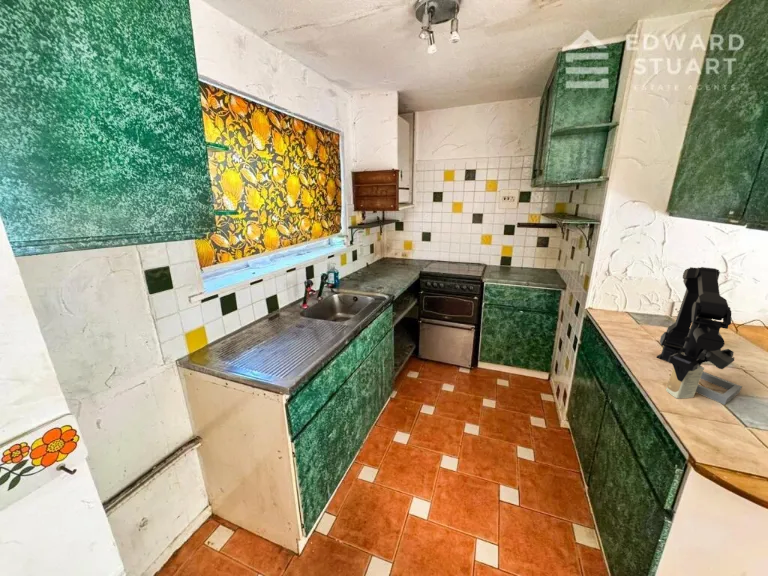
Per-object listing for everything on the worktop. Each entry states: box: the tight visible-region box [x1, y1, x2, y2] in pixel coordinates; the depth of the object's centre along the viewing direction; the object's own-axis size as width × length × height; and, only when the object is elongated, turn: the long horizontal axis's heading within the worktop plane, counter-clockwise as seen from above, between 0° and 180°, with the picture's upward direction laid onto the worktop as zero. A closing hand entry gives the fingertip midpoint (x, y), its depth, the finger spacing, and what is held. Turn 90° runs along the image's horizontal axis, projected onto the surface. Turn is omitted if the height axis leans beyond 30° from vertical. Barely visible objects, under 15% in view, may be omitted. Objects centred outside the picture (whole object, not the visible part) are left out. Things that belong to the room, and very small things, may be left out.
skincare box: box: [665, 365, 705, 399], centre depth 104 cm, size 6×4×12 cm
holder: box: [695, 370, 743, 405], centre depth 109 cm, size 13×13×2 cm
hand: (685, 377), depth 104 cm, fingers closed on skincare box, 7 cm apart
